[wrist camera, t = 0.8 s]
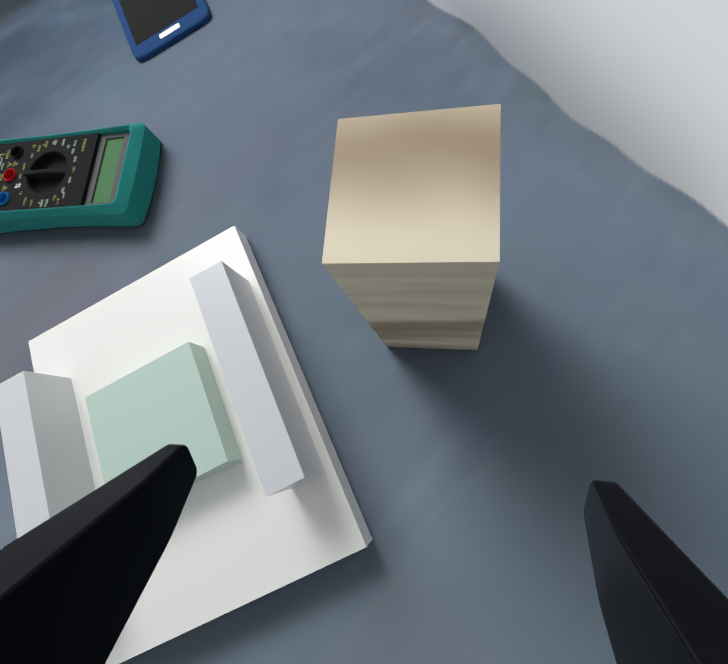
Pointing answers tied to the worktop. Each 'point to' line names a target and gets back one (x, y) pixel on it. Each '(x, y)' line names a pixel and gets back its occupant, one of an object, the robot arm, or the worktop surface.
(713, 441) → the worktop surface
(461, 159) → the birch block
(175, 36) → the cell phone
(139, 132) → the digital multimeter
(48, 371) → the display stand
